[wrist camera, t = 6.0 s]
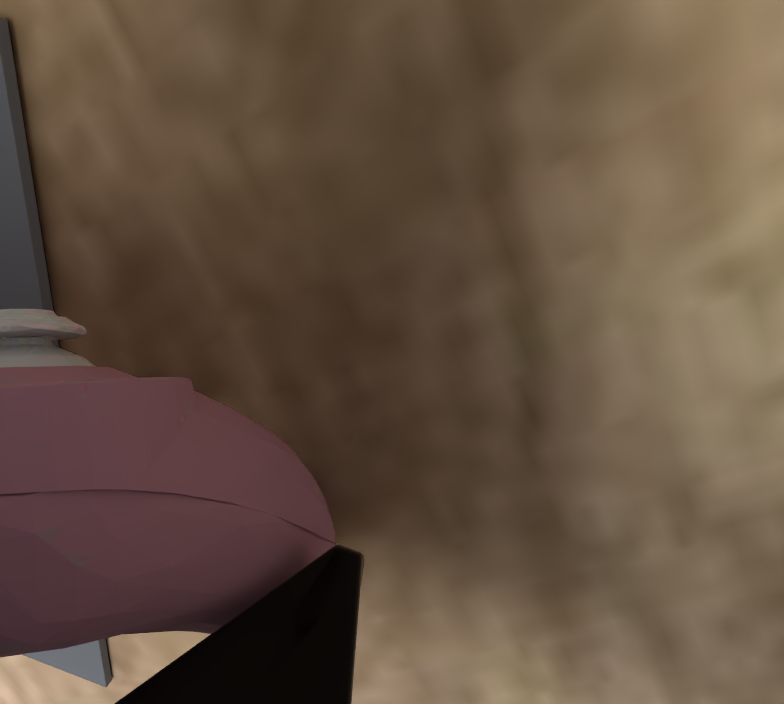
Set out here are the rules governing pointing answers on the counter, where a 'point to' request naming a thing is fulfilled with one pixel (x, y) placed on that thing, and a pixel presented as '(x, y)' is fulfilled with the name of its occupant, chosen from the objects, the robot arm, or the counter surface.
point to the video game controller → (135, 499)
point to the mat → (30, 290)
